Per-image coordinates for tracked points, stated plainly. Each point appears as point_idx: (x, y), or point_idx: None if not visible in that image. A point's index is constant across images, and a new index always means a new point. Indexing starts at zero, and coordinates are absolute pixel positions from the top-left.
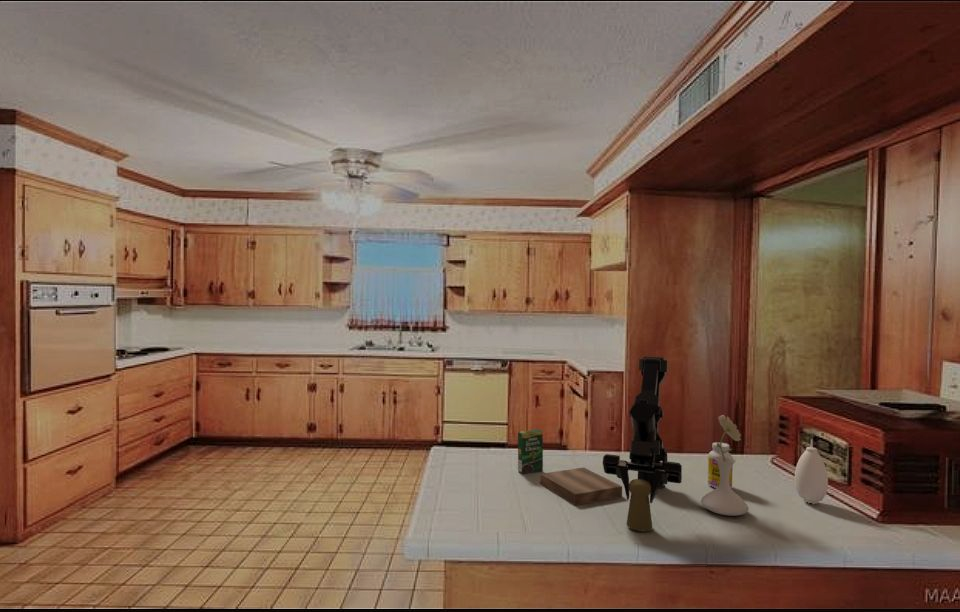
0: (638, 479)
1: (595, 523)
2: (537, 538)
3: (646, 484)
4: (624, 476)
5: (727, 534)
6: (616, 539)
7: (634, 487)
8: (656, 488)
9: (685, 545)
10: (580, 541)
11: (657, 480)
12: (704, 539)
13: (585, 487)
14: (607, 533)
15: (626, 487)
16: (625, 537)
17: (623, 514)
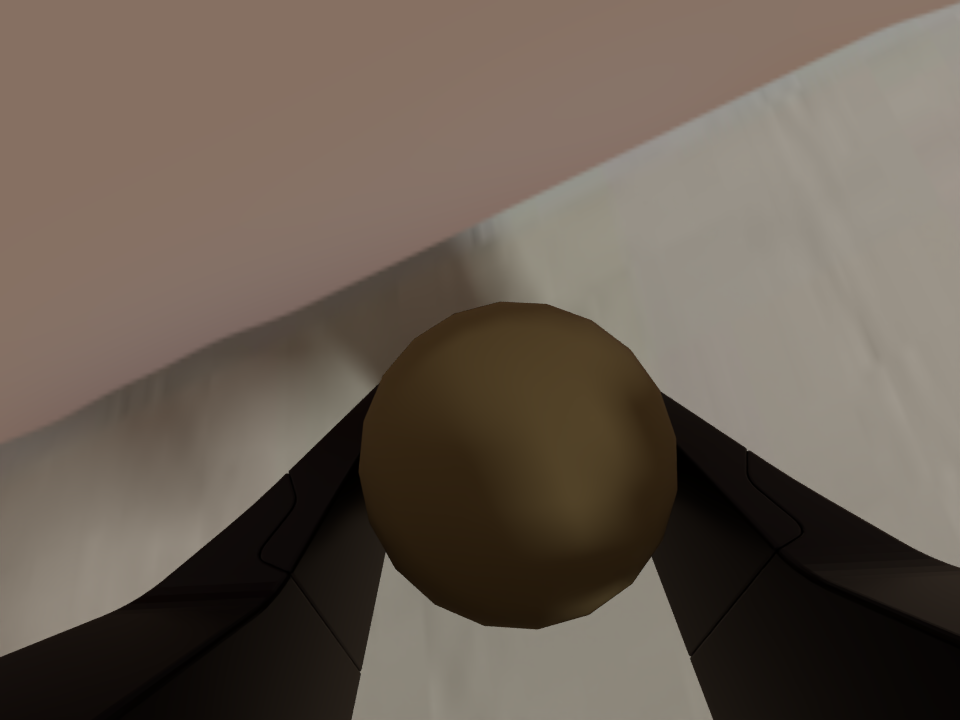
0: (561, 519)
1: (728, 381)
2: (912, 89)
3: (405, 382)
4: (844, 540)
5: (32, 579)
6: (579, 242)
7: (572, 313)
8: (289, 480)
9: (260, 329)
10: (726, 147)
11: (201, 577)
12: (163, 447)
13: None
14: (636, 287)
15: (681, 419)
16: (544, 283)
17: (617, 598)
